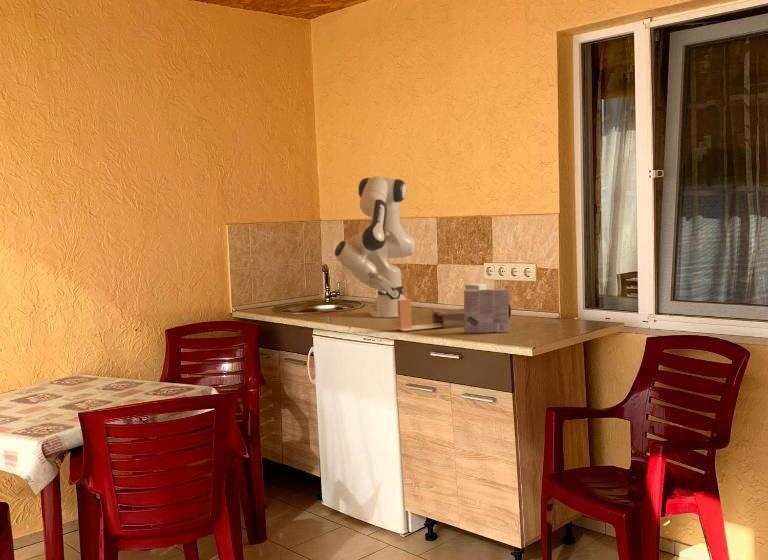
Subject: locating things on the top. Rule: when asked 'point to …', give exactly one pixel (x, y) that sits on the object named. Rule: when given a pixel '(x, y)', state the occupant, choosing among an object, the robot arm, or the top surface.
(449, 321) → the walnut dispenser
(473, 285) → the skincare box
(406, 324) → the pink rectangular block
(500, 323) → the cake pan box
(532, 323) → the top surface
